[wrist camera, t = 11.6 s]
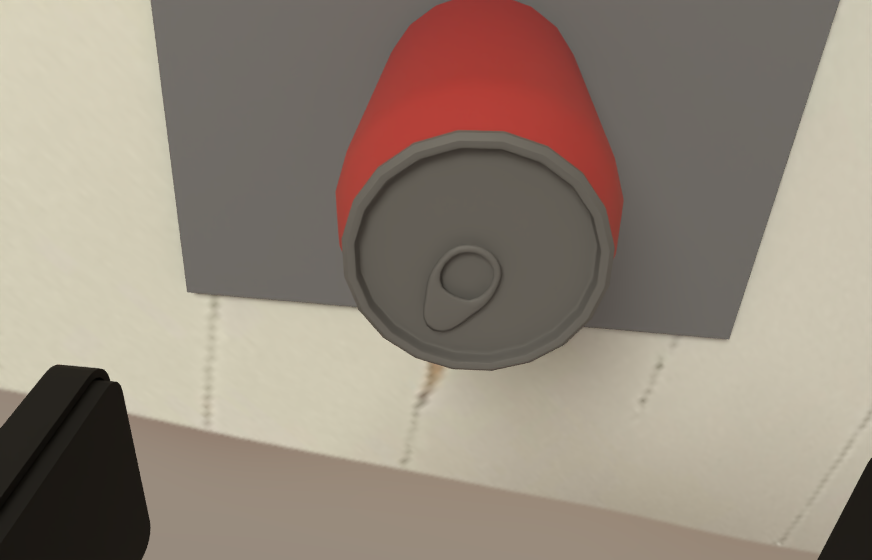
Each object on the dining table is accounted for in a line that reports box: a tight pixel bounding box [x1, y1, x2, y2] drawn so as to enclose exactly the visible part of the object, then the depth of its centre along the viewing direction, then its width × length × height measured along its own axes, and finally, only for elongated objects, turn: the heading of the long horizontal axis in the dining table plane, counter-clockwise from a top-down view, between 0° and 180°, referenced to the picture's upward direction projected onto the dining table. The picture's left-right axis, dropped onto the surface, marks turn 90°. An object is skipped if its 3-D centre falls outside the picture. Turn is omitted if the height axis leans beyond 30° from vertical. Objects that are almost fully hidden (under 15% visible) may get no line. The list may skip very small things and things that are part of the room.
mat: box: [151, 0, 840, 339], centre depth 26 cm, size 22×18×1 cm
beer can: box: [335, 0, 624, 371], centre depth 20 cm, size 7×7×12 cm
